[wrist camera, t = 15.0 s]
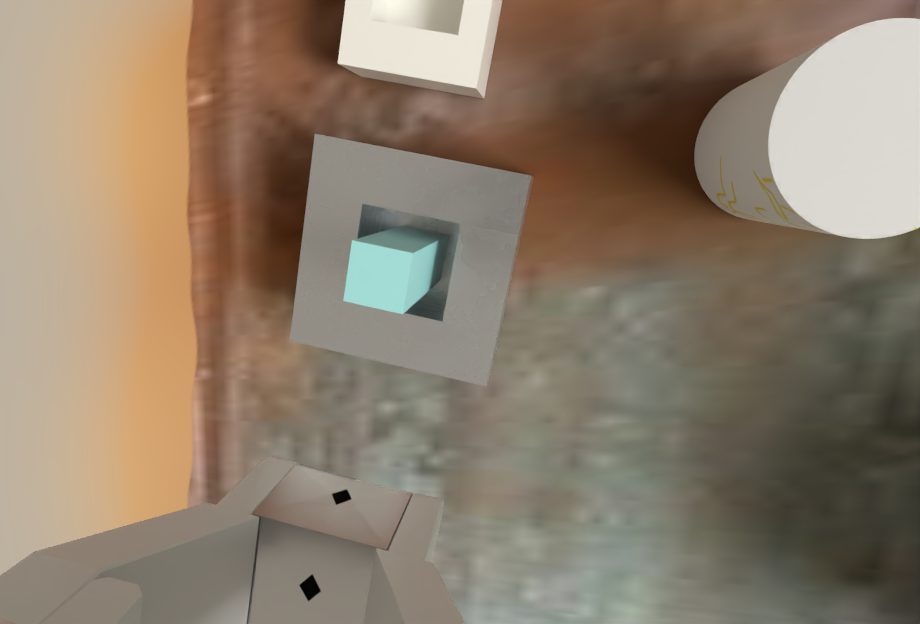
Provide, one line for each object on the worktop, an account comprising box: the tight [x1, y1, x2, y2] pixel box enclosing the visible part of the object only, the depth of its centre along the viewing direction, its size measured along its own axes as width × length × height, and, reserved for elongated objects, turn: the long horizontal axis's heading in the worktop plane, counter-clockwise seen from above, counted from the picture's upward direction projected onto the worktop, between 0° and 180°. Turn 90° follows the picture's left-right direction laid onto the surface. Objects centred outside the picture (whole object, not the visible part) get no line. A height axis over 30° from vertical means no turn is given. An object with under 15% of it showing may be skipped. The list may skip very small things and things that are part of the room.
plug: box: [343, 225, 449, 314], centre depth 32 cm, size 3×3×10 cm
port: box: [290, 134, 534, 386], centre depth 35 cm, size 12×12×6 cm
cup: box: [694, 18, 920, 239], centre depth 28 cm, size 8×8×12 cm
